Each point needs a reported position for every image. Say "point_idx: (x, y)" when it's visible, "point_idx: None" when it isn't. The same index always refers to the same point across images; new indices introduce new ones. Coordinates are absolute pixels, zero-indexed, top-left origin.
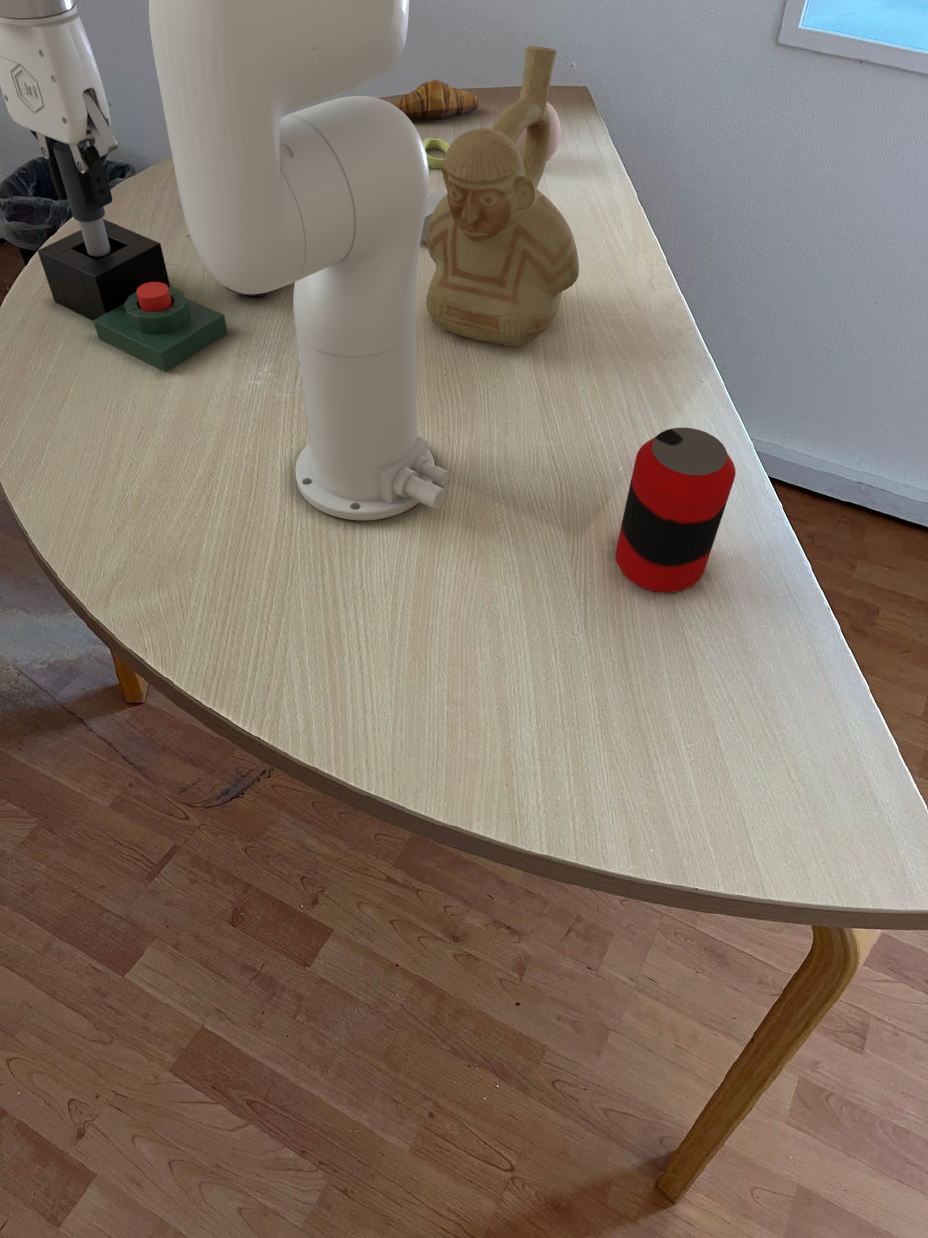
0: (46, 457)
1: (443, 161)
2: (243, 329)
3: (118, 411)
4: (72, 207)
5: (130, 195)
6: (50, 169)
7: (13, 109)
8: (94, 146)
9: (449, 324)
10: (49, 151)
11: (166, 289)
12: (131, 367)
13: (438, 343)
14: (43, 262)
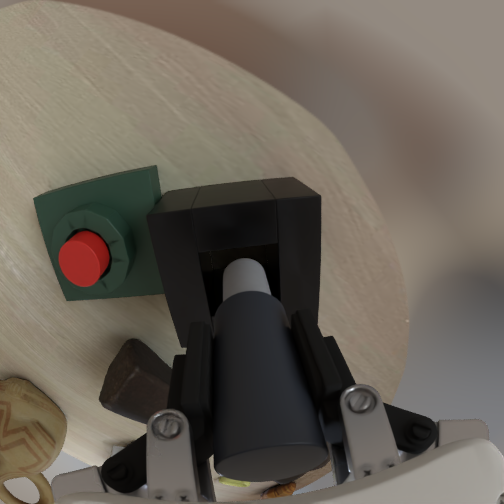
0: (29, 29)
1: (219, 481)
2: (76, 302)
3: (27, 112)
4: (252, 308)
5: (393, 361)
6: (329, 362)
7: (471, 494)
8: (104, 490)
9: (9, 380)
10: (340, 413)
11: (69, 278)
12: (75, 163)
13: (15, 367)
14: (306, 190)
